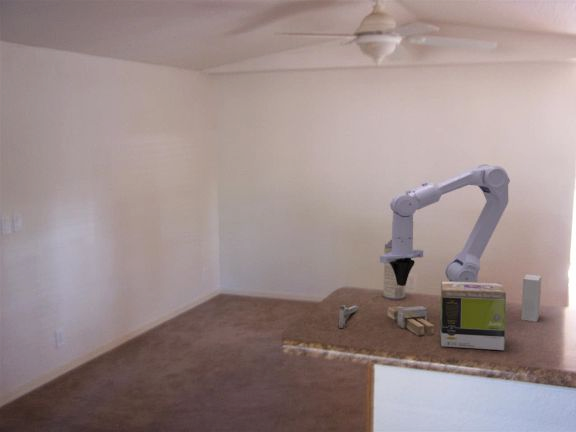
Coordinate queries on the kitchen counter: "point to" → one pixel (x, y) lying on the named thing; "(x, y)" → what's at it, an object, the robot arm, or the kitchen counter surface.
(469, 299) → the tea box
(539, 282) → the skincare box
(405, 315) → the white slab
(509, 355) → the kitchen counter surface
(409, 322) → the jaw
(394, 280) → the cream cylinder
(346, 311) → the caliper
